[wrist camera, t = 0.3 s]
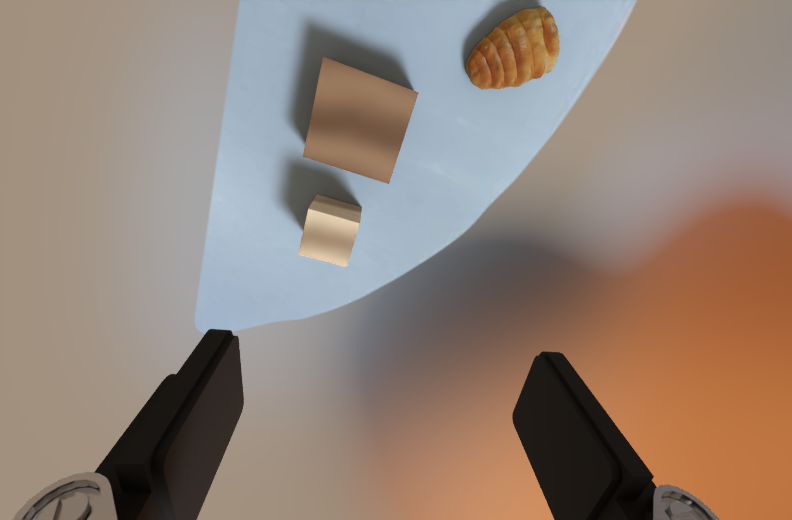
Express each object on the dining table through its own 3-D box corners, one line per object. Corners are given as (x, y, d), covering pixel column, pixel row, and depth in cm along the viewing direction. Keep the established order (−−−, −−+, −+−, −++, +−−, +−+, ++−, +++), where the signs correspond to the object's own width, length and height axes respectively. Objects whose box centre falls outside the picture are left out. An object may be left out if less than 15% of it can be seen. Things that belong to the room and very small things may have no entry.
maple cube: (316, 193, 43) (308, 208, 38) (361, 207, 44) (359, 223, 39) (307, 234, 46) (298, 254, 40) (350, 246, 47) (346, 266, 41)
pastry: (474, 105, 39) (483, 106, 36) (456, 42, 37) (464, 37, 33) (552, 68, 38) (569, 66, 35) (540, 1, 35) (557, -9, 32)
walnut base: (328, 59, 36) (323, 56, 33) (414, 92, 38) (418, 92, 35) (309, 150, 41) (302, 156, 37) (387, 175, 42) (388, 183, 39)
